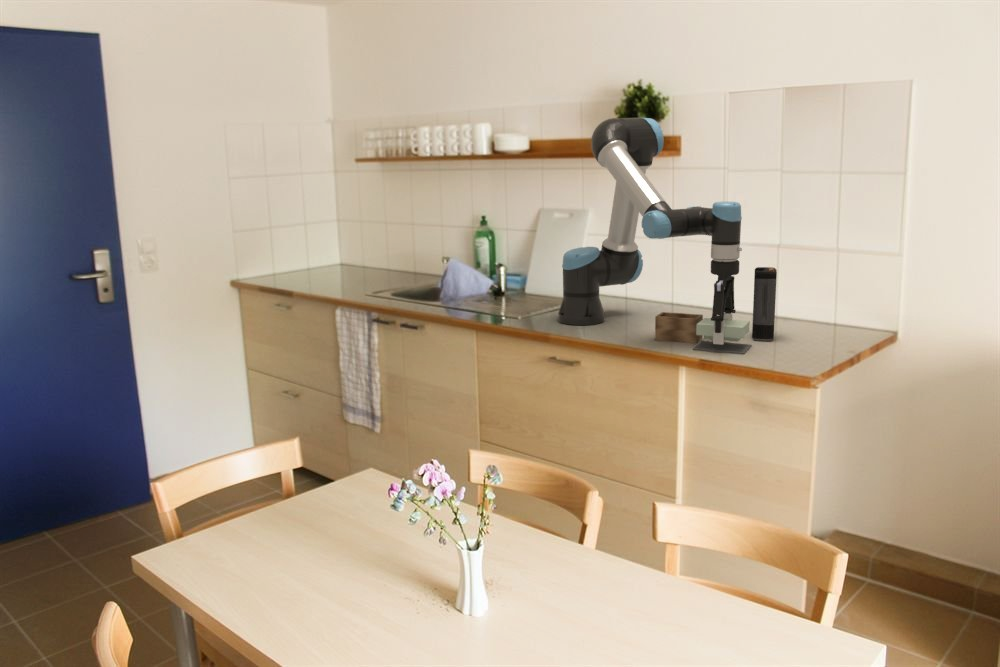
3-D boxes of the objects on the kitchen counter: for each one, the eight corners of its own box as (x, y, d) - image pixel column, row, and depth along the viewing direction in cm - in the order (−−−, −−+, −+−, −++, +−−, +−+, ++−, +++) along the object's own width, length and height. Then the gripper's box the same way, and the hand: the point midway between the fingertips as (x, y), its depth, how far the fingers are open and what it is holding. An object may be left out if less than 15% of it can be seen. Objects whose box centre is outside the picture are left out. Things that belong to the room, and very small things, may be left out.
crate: (655, 340, 246) (655, 316, 244) (662, 334, 252) (662, 311, 250) (696, 343, 240) (696, 319, 239) (702, 338, 247) (702, 314, 245)
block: (696, 340, 233) (696, 324, 232) (704, 333, 241) (704, 317, 240) (742, 344, 227) (742, 327, 226) (748, 336, 235) (749, 321, 234)
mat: (692, 349, 234) (692, 348, 233) (701, 341, 242) (701, 340, 242) (744, 354, 227) (744, 352, 227) (751, 345, 236) (751, 344, 236)
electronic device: (752, 333, 250) (754, 266, 246) (773, 334, 248) (776, 267, 244) (751, 341, 241) (754, 271, 237) (773, 341, 240) (776, 272, 235)
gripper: (730, 265, 218) (727, 350, 223) (747, 254, 237) (744, 332, 242) (701, 264, 221) (699, 347, 226) (720, 253, 240) (718, 330, 245)
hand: (722, 339), depth 234 cm, fingers open, 9 cm apart
